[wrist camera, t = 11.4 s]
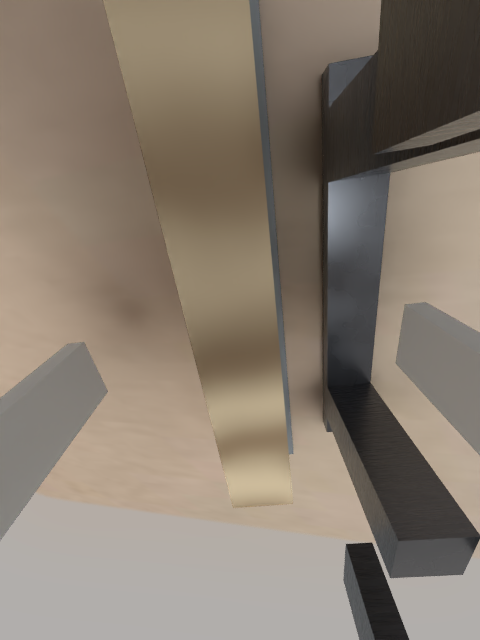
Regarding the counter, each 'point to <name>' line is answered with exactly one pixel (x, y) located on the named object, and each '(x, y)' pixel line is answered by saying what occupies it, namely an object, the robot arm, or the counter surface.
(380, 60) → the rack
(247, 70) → the rail
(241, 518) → the counter surface
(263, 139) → the grey base plate
